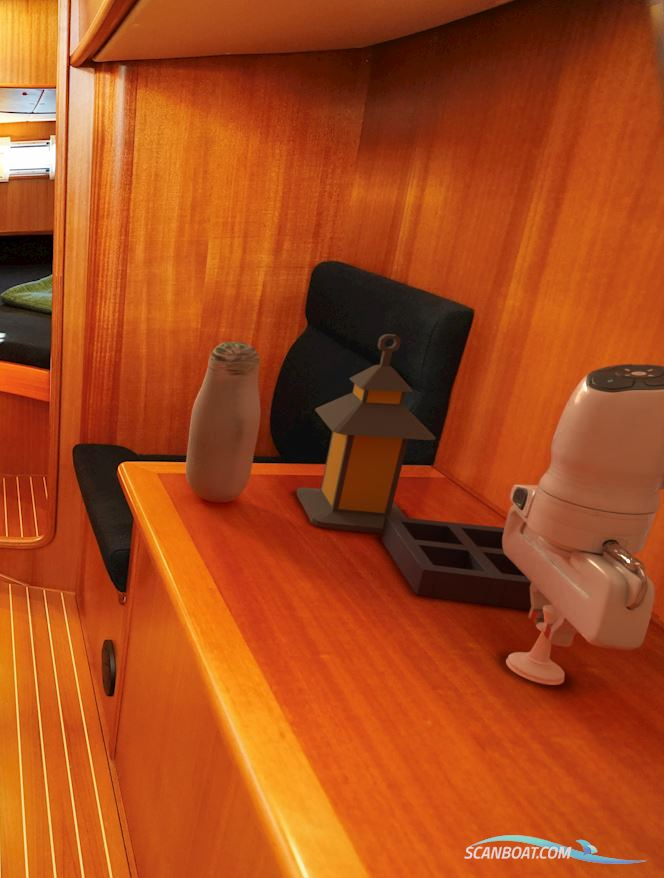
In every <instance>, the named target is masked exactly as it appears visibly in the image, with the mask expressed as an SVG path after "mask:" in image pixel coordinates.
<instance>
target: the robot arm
mask: <svg viewBox="0 0 664 878" xmlns="http://www.w3.org/2000/svg"><path fill="white" fill-rule="evenodd" d="M550 455H551V456H550V458H551V459H550V464H549V467H548V468H547V470H546V471H545V473H544V474H543V475H542V477H540V480H539V482H538V484H518V483H517V484H514V485H513V486H512V488H511V491H510V495H509V500H510V502H511V503H512V505H511V506H510V508H509V509H508V513H507V517H506V519H505V524H504V527H503V528H504V532H503V537H502V547H503V552H504V554H505V555H506V556H507V557H508V558H509V559H510V560H511V561H512V562H513V563H514V564H515V565H516V566H517V567H518V568H519V570H520V571H521V572H522V573H523V574H524V575H525V576H526V577H527V578H528V579H529V580H530V581H531V585H530V597H531V605H532V606H531V609H530V610H529V612H528V615H527V617H528V619H529V620H530V621H531V622H532V623H533V624H534V626H536V624H537V623H539V622H544V613H543V607H544V606H545V605H552V604H553V605H554V606H555V608H556V609H557V610H558V611H557V614H556V616H557V617H558V618H559V619H558V620H557V621H556V623H555V624H549V623H547V626H546V631H545V632H544V636H545V637H546V638H547V639H548V641H549V642H550V643H551V646H557V647H564V648H568V647H571V646H572V643H573V641H574V638H575V635H577V634H578V633H579V634H580V636H582V637H583V638H584V640H586V641H587V643H589V644H590V645H592V646H594V647H600V648H606V649H613V650H620V651H633V650H636V649H638V648H639V647H641V646H642V645H643V643H644V641H645V637H646V635H647V631H648V627H649V624H650V621H651V617H652V613H653V608H654V604H655V597H656V592H655V591H656V590H655V586H654V583H653V581H652V580H651V578H650V577H649V576H648V575H647V574H646V572H645V570H646V566H645V564H644V562H642V561H641V560H640V559H639V558H637V557H635V556H634V555H637V554H639V553H641V552H643V550H644V548H645V544H646V542H647V539H648V537H649V535H650V531H651V529H652V527H653V524H654V523H655V519H656V516H657V513H658V512H659V508H660V505H661V497H660V492H661V490H664V365H660V364H659V365H657V364H647V363H646V364H632V363H625V364H614V365H609V366H603V367H601V368H598V369H594V370H592V371H590V372H588V373H586V375H585V376H584V377H583V378H582V379H581V380H580V381H579V382H578V384H577V385H576V387H575V388H574V390H573V391H572V393H571V394H570V396H569V398H568V400H567V402H566V404H565V406H564V408H563V411H562V413H561V415H560V417H559V421H558V423H557V426H556V429H555V432H554V435H553V438H552V441H551V445H550ZM551 603H552V604H551Z"/></svg>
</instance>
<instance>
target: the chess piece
mask: <svg viewBox="0 0 664 878" xmlns="http://www.w3.org/2000/svg"><path fill="white" fill-rule="evenodd" d="M551 604H552V603H551ZM557 611H558V610H557V609H556V608H555V606H554V605H553V604H552V605H545V606H544V607H543V613H544V622H539V623H537V624H536V625H535V627H536V629H537V630H539V631H540V633H539V636H538V638H537V639H536V641H535V643H534V644H533V647H532V648H531V649H530V651H527V652H525V651H515V652H511V653H510V654H509V655H508V657H507V658H506V660H505V664H506V666H507V667H508V669H510V670H511V671H512V672H513V673H515V674H516V675H518V676H520V677H522V678H524V679H526V680H528V681H531V682H534V683H538V684H541V685H549V686H557V685H561V684H563V683H564V682H565V675H566V674H565V671H564V670H563V668H562V667H561V666H560V665H559V664H557V663H556V662H555V661H553V660H552V659H551V658H550V657H551V652H552V651H551V649H552V644H551V643H550V642H549V641H548V639H547V638H546V637H545V636H544V632H545V631H546V626H547V623H549V624H555V623H556V621H557V620H558V619H559V618H558V617H557V616H556V614H557Z"/></svg>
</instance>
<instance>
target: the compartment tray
mask: <svg viewBox="0 0 664 878" xmlns="http://www.w3.org/2000/svg"><path fill="white" fill-rule="evenodd" d="M503 532H504V527H502V526H491V525H483V524H473V523H472V524H471V523H461V522H452V521H443V520H442V521H441V520H434V519H433V520H432V519H424V518H414V517H413V518H412V517H406V518H404V517H394V516H385V520H384V524H383V528H382V533H381V534H380V537H379V539H380V541H381V543H382V544H383V546H384V548H385V549H386V551H387V552H388V553H389V555H390V556H391V558H392V559H393V561H394V562H395V564H396V566H397V567H398V569H399V570H400V572H401V573H402V575H403V576H404V578H405V580H406V581H407V583H408V584H409V586H410V587H411V589H412V590H413V592H414V594H415V595H416V596H418V597H428V598H434V599H443V600H451V601H458V602H466V603H472V604H479V605H480V604H481V605H489V606H496V607H504V608H509V609H511V608H512V609H520V610H525V611H530V609H531V606H532V605H531V597H530V585H531V581H530V580H529V579H528V578H527V577H526V576H525V575H524V574H523V573H522V572H521V571H520V570H519V568H518V567H517V566H516V565H515V564H514V563H513V562H512V561H511V560H510V559H509V558H508V557H507V556H506V555H505V554H504V552H503V547H502V537H503Z"/></svg>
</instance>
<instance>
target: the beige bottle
mask: <svg viewBox="0 0 664 878" xmlns="http://www.w3.org/2000/svg"><path fill="white" fill-rule="evenodd" d="M260 364H261V363H260V356H259V352H258V351H257V350H256V348H254V347H253V345H251V344H248V343H246V342H243V341H226V342H221V343H219V344H218V345H216V347H215V348H213V350H212V352H211V353H210V356H209V358H208V363H207V369H206V372H205V376H204V378H203V381H202V384H201V386H200V389H199V392H198V393H197V395H196V398H195V400H194V403H193V406H192V409H191V416H190V424H189V431H188V440H187V441H188V443H187V452H186V458H185V459H186V460H185V477H186V481H187V484H188V486H189V488H190V489H191V491H192V492H193V493H194V494H195V495H196V496H197V497H199V498H201V499H202V500H204V501H208V502H211V503H217V504H224V503H228V502H232V501H234V500H236V499H237V498H238V497H240V496H241V495H242V494H243V492H244V490H245V489H246V488H247V485H249V482H250V479H251V474H252V467H253V462H254V456H255V450H256V446H257V441H258V437H259V430H260V424H261V400H260V399H261V398H260V390H259V373H260Z"/></svg>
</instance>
